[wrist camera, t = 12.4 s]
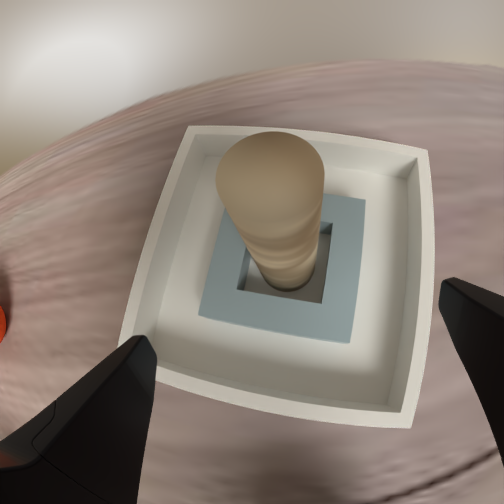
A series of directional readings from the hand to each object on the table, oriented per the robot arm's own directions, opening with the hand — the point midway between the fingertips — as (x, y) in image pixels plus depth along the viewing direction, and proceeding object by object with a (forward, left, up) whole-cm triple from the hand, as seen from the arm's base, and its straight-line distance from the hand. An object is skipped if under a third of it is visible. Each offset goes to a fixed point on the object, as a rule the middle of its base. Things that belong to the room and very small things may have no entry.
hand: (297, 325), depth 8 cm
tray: (+5, +2, -13) cm, 15 cm away
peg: (+5, +2, -13) cm, 14 cm away
